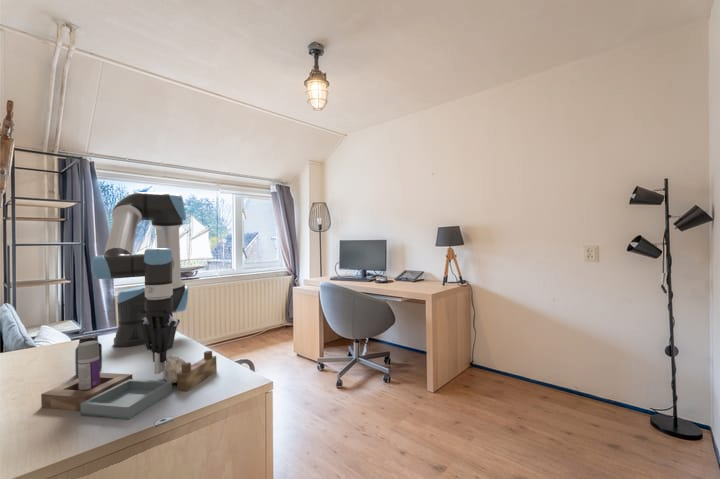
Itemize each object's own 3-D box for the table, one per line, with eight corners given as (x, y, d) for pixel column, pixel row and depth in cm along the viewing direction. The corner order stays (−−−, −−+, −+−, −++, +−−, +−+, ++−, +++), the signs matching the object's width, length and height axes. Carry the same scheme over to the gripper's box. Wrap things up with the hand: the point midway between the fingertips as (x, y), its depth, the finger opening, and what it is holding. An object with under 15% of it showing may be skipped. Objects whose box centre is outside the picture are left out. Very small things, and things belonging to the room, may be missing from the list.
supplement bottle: (87, 377, 104) (85, 340, 104) (70, 376, 106) (68, 339, 106) (107, 368, 111) (106, 333, 111) (91, 367, 112) (90, 333, 112)
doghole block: (93, 383, 100) (93, 372, 100) (132, 385, 97) (132, 374, 97) (41, 407, 86) (41, 394, 86) (85, 410, 83) (85, 397, 83)
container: (97, 390, 95) (95, 339, 95) (103, 394, 92) (101, 342, 92) (76, 397, 91) (75, 343, 91) (81, 401, 88) (80, 346, 88)
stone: (191, 383, 106) (187, 352, 110) (195, 376, 97) (191, 343, 101) (164, 390, 102) (160, 358, 105) (166, 384, 93) (162, 349, 96)
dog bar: (208, 370, 107) (207, 349, 107) (216, 371, 107) (216, 349, 107) (177, 390, 93) (176, 366, 93) (186, 391, 93) (185, 366, 93)
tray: (129, 389, 95) (129, 379, 95) (171, 392, 93) (171, 381, 93) (80, 415, 81) (80, 403, 81) (128, 419, 79) (128, 407, 79)
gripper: (131, 299, 99) (132, 375, 100) (167, 300, 97) (168, 378, 97) (151, 294, 107) (151, 366, 107) (185, 295, 104) (186, 368, 105)
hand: (159, 372), depth 102 cm, fingers closed
